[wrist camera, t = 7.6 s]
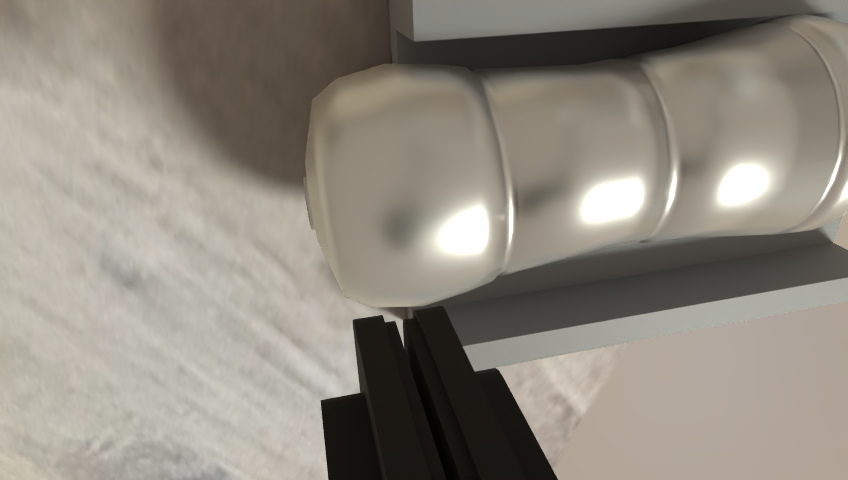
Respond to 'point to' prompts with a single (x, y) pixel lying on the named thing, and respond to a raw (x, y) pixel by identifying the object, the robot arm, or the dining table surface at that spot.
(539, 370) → the dining table surface
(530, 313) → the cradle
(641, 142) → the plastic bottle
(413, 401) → the robot arm
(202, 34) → the dining table surface
